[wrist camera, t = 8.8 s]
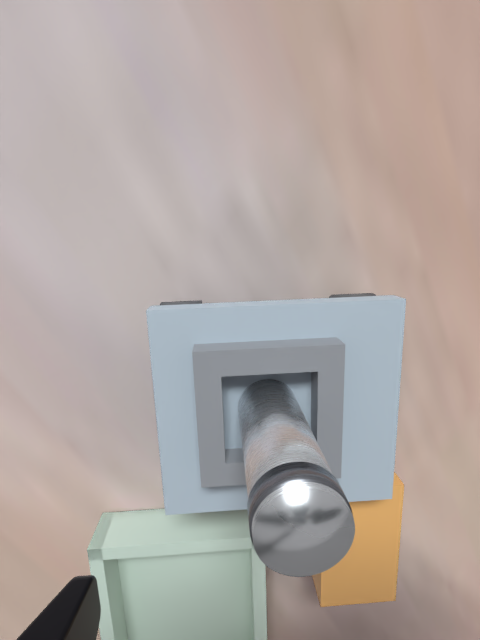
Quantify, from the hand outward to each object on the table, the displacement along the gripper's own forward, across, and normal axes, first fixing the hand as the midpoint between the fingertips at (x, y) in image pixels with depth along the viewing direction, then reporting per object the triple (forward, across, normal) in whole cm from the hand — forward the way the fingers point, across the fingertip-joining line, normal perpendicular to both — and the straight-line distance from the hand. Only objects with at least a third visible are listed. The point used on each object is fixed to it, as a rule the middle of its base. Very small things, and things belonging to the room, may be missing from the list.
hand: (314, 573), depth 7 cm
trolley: (+12, 0, 0) cm, 12 cm away
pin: (+7, 0, 0) cm, 7 cm away
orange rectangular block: (+12, -5, +9) cm, 16 cm away
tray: (+12, +4, +14) cm, 19 cm away
